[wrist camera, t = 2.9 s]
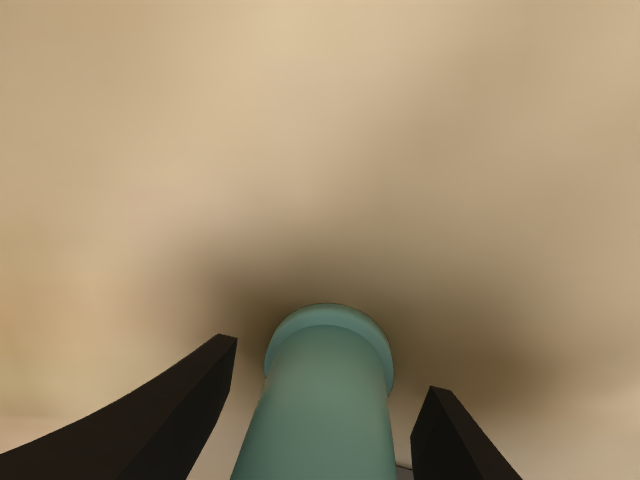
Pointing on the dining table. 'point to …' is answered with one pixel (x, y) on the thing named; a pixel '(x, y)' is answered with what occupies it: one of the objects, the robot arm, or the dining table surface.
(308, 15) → the dining table surface
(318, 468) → the pin
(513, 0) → the dining table surface
